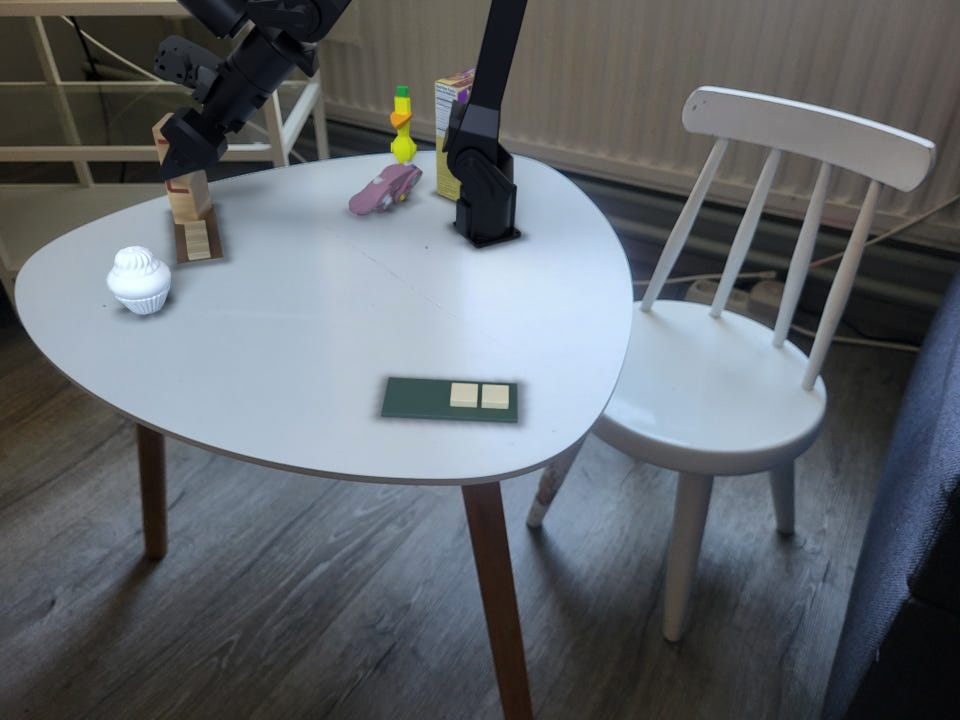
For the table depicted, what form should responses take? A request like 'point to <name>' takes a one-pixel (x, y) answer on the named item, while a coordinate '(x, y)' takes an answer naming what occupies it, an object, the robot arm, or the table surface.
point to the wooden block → (184, 186)
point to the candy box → (444, 96)
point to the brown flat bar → (198, 239)
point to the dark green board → (450, 400)
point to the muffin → (139, 280)
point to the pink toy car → (386, 188)
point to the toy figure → (402, 126)
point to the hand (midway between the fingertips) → (175, 161)
